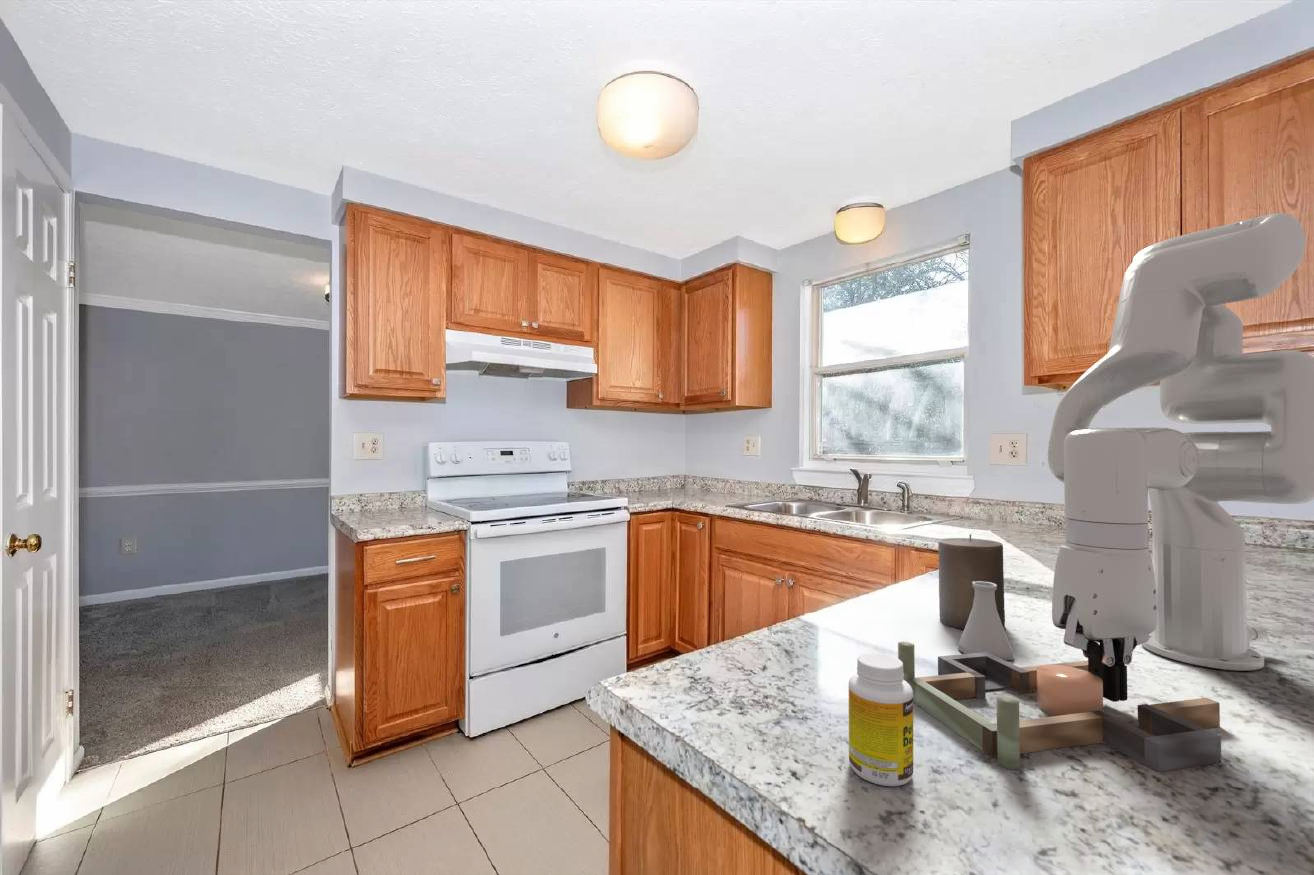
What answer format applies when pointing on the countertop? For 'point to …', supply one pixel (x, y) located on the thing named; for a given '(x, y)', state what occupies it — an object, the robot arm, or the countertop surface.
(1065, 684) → the short salmon cylinder
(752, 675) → the countertop surface
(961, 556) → the pillar candle
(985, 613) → the flask
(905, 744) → the supplement bottle
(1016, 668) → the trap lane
